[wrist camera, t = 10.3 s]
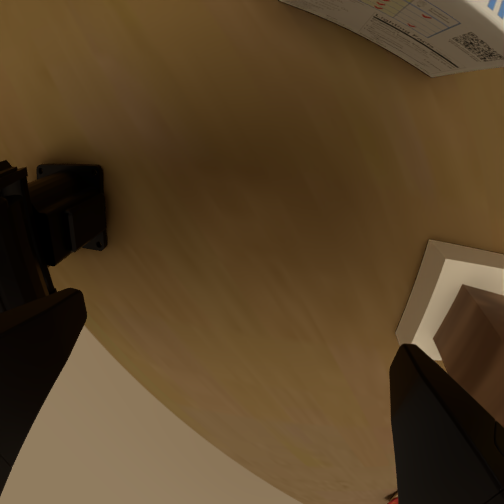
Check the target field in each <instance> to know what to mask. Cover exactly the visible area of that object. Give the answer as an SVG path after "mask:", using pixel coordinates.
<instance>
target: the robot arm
mask: <svg viewBox="0 0 504 504" xmlns="http://www.w3.org/2000/svg"><path fill="white" fill-rule="evenodd" d="M94 169H95V170H96V172H97V174H95V173H94ZM42 170H43V172H42ZM26 176H28V174H27V168H26V167H24V168H20V169H17V167H12V166H11V165H10V164H9V163H8V161H7V160H5V161H1V162H0V496H1V493H2V491H3V488H4V486H5V483H6V481H7V479H8V476H9V474H10V472H11V469H12V466H13V465H14V462H15V460H16V458H17V456H18V454H19V451H20V449H21V447H22V445H23V443H24V441H25V439H26V437H27V434H28V433H29V430H30V428H31V426H32V424H33V423H34V420H35V419H36V417H37V415H38V413H39V411H40V409H41V407H42V405H43V403H44V401H45V400H46V398H47V396H48V394H49V392H50V390H51V388H52V387H53V385H54V383H55V381H56V380H57V378H58V376H59V374H60V372H61V371H62V369H63V367H64V365H65V364H66V362H67V360H68V358H69V356H70V354H71V351H72V349H73V347H74V345H75V343H76V341H77V339H78V336H79V334H80V332H81V330H82V328H83V326H84V324H85V322H86V319H87V311H86V307H85V302H84V297H83V294H82V292H81V291H80V290H77V289H73V288H67V289H64V290H61V291H59V292H57V291H56V289H55V288H54V286H53V283H52V280H51V277H50V273H49V270H48V267H49V266H56V265H57V264H58V263H59V262H61V261H62V260H63V259H64V258H66V257H67V256H68V255H70V254H71V253H72V252H76V251H77V250H79V249H80V248H81V247H82V248H87V249H93V250H99V251H102V250H103V249H105V248H106V246H107V239H106V216H105V199H104V195H103V172H102V168H101V167H100V166H99V165H95V164H41V165H38V167H37V180H35V181H33V182H30V183H27V177H26ZM99 242H100V243H101V244H102V245H100V244H99ZM389 375H390V402H391V425H392V434H393V442H394V452H395V462H396V474H397V488H398V504H504V427H503V426H502V425H501V424H500V423H499V422H498V421H495V418H494V417H493V416H492V415H491V414H490V413H488V412H487V411H486V410H485V409H484V408H483V407H482V406H481V405H480V404H479V403H478V402H477V401H476V400H475V399H474V398H473V397H472V396H471V395H470V394H469V393H468V392H467V391H466V390H465V389H464V388H462V387H461V386H460V385H459V384H458V383H457V382H456V381H455V380H454V379H453V378H452V377H451V376H450V375H449V374H448V373H447V372H445V371H444V370H443V369H442V368H441V367H440V366H439V365H438V364H437V363H436V362H435V361H434V360H433V359H431V358H430V357H429V356H428V355H427V354H426V353H425V352H424V351H423V350H422V349H421V348H419V347H418V346H417V345H416V344H407V343H404V344H402V345H401V346H400V347H399V349H398V351H397V353H396V355H395V358H394V360H393V362H392V364H391V366H390V372H389Z"/></svg>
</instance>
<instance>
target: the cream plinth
mask: <svg viewBox="0 0 504 504" xmlns="http://www.w3.org/2000/svg"><path fill="white" fill-rule="evenodd" d="M462 284H464V285H468V286H471V287H475V288H478V289H482V290H486V291H489V292H493V293H496V294H500V295H504V254H499V253H495V252H490V251H485V250H481V249H476V248H471V247H466V246H461V245H456V244H451V243H446V242H441V241H436V240H430V239H429V241H428V244H427V247H426V251H425V254H424V257H423V260H422V263H421V266H420V269H419V272H418V275H417V278H416V281H415V283H414V286H413V289H412V292H411V294H410V297H409V300H408V302H407V305H406V308H405V310H404V313H403V315H402V318H401V320H400V323H399V325H398V328H397V330H396V332H395V334H396V337H397V340H398V343H399V346H401V345H402V344H404V343H407V344H416V345H417V346H418V347H419V348H421V349H422V350H423V351H424V352H425V353H426V354H427V355H428V356H429V357H430V358H431V359H433V360H442V358H441V356H440V354H439V351H438V349H437V347H436V345H435V343H434V340H433V337H434V336H435V334H436V332H437V330H438V329H439V327H440V325H441V323H442V322H443V320H444V318H445V316H446V315H447V313H448V311H449V309H450V307H451V305H452V303H453V302H454V300H455V298H456V296H457V294H458V292H459V290H460V288H461V286H462Z"/></svg>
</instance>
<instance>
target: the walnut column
mask: <svg viewBox="0 0 504 504" xmlns="http://www.w3.org/2000/svg"><path fill="white" fill-rule="evenodd" d="M433 340H434V343H435V345H436V347H437V349H438V351H439V354H440V356H441V358H442V361H443V363H444V365H445V368H446V370H447V372H448V374H449V375H450V376H451V377H452V378H453V379H454V380H455V381H456V382H457V383H458V384H459V385H460V386H461V387H462V388H464V389H465V390H466V391H467V392H468V393H469V394H470V395H471V396H472V397H473V398H474V399H475V400H476V401H477V402H478V403H479V404H480V405H481V406H482V407H483V408H484V409H485V410H486V411H487V412H488V413H490V414H491V415H492V416H493V417H494V418H495V421H498V422H499V423H500V424H501V425H502V426H503V427H504V295H500V294H496V293H493V292H489V291H486V290H482V289H478V288H475V287H471V286H468V285H464V284H462V286H461V288H460V290H459V292H458V294H457V296H456V298H455V300H454V302H453V303H452V305H451V307H450V309H449V311H448V313H447V315H446V316H445V318H444V320H443V322H442V323H441V325H440V327H439V329H438V330H437V332H436V334H435V336H434V337H433Z"/></svg>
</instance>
